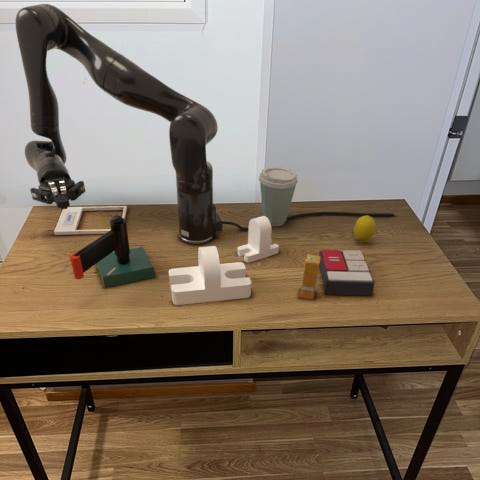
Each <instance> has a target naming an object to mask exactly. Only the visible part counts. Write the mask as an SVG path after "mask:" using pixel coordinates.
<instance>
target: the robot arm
mask: <svg viewBox="0 0 480 480" xmlns="http://www.w3.org/2000/svg"><path fill="white" fill-rule="evenodd" d="M15 33H16V39H17V43H18V48H19V52H20V57H21V62H22V67H23V72H24V75H25V80H26V85H27V92H28V101H29V119H30V120H29V121H30V129H31V131H32V132H33V134H35V135H37V136H39V137H42V138H46V139H48V140H30V141H28V142H27V143H26V145H25V147H24V157H25V160H26V162H27V164H28V165H29V167H30V168H31V169H33V170H34V171H35V172H36V176H37V181H38V184H39V185H38V188H37V187H36V188H35V187H31V188H30V189H29V190H30V194H31V198H32V200H33V201H36V202H40V203H43V204H47V205H53V204H54V203H55V204H56V207H57V208H58V209H60V210H62V211H63V209H68V208H67V207H71V204H70V201H71V202H72V201H76V200H78V199H79V198H80V197H81V196H82V195H83V194H85V192H86V186H85V182H84V181H83V180H79V181H78V182H76V181H74V179H72V178H71V176H70V172H69V169H68V168H67V166H66V163H67V152H66V149H65V145H64V143H63V140H62V137H61V131H60V107H59V100H58V97H57V94H56V92H55V90H54V88H53V86H52V84H51V81H50V78H49V76H48V71H47V57H48V51H52V50H59V51H61V52H64V53H65V54H67V55H69V56H71V57H72V58H73V59H75V60H77V61H78V62H79V64H81V65H82V66H83V67H84V68H85V70H86V72H87V73H88V75H89V76H90V78H91V80H92V81H93V82H94V84H95V85H96V86H97V87H98V88H99V89H100V90H102V91H103V92H104V93H106V94H107V95H109V96H110V97H112V98H113V99H115V100H117V101H118V102H120V103H122V104H123V105H125V106H128V107H131V108H134V109H137V110H141V111H143V112H148V113H151V114H153V115H154V114H155V115H157V116H159V117H162V118H163V119H164V120H166V121H167V122H169V123H170V124H169V129H168V138H169V148H170V158H171V163H172V167H173V169H174V170H175V183H176V184H175V186H176V201H177V203H176V204H177V216H178V218H177V219H178V238H179V240H180V241H181V242H183V243H185V244H188V245H203V244H208V243H209V242H211V241H212V240H214V239H217V233H219V232H223V225H231V226H234V227H237V228H238V229H239V230H243V231H248V229H249V227H244V226H241V225H239V224H238V223H237V222H233V221H224V220H222V218H221V217H220V215H219V213H218V212H217V206H216V204H215V203H214V180H213V179H214V177H213V176H214V170H213V169H214V167H213V165H212V163H211V162H210V161H208V160H207V148H206V147H207V145H209V143H210V142H211V141H212V140H214V139H215V137H216V136H217V133H218V129H219V128H218V122H217V119H216V117H215V115H214V113H212V111H211V110H210V109H208V108H207V107H205V106H204V105H203V104H201V103H199V102H197V101H195V100H193V99H191V98H190V97H188V96H186V95H183V94H182V93H181V92H180V93H179V92H178V91H176V90H175V89H173V88H171V87H170V86H168V85H167V84H165V83H164V82H163V81H161V80H160V79H158V78H156V77H155V76H154V75H153V74H151V73H149V72H148V71H146V70H145V69H143V68H142V67H141V66H139V65H138V64H136V63H135V62H133V61H132V60H130V59H129V58H127V57H126V56H125V55H123V54H121V53H119V52H118V51H117V50H115V49H113V48H112V47H110V46H109V45H108V44H106V43H105V42H103V41H102V40H100V39H99V38H96V36H93V35H92V34H91V33H90V32H88V31H87V30H86V29H84V28H83V27H82V26H81V25H80V24H78V23H77V22H76V21H75V20H74V19H72V18H71V17H70V16H69V15H67V14H66V13H65V12H64V11H63V10H61V9H60V8H59V7H57V6H55V5H53V4H50V3H49V4H48V3H40V4H35V5H28V6H25V7H22V8H20V9H19V10H18V12H17V14H16V16H15ZM316 215H318V216H319V215H347V216H348V215H349V216H366V215H369V216H370V217H372V216H373V217H376V216H377V217H383V216H384V217H393V216H395V213H394V212H355V211H354V212H352V211H314V212H313V211H312V212H304V213H299V214H294V215H289V216H287V219H286V221H288V220H292V219H296V218H301V217H306V216H316Z"/></svg>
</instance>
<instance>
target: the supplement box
mask: <svg viewBox="0 0 480 480" xmlns="http://www.w3.org/2000/svg"><path fill="white" fill-rule="evenodd" d="M320 259H321V257H320V256H319V255H316V254H310V253H308V254H307V255H306V259H305V263H304V270H303V273H302V274H303V275H302V280H301V284H300V285H301V286H300V292H299V298H300V299H306V300H314V298H315V292H316V287H317V280H318V275H319V270H320V266H319V264H320Z"/></svg>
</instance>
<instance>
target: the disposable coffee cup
mask: <svg viewBox="0 0 480 480" xmlns="http://www.w3.org/2000/svg"><path fill="white" fill-rule="evenodd" d="M258 182H260V183H259V184H260V185H259V186H260V197H261V209H262V212H261V213H262V216H266V217H267V218H268V219H269V221H270V224H271V227H281V226H283V225H284V224H285V223H286V222H287V220H286V219H287V217H288V215H289V211H290V209H291V204H292V200H293V198H294V194H295V191H296V186H297V184H298V175H297V174H296V173H295V172H294V171H293V170H291V169H288V168H284V167H280V166H279V167H277V166H270V167H264V168H263V169H261V172H259V177H258Z"/></svg>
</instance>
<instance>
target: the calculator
mask: <svg viewBox="0 0 480 480" xmlns="http://www.w3.org/2000/svg"><path fill="white" fill-rule="evenodd" d="M318 256H320V257H321V259H320V264H319V270H320V274H321V278H322V285H323V290H324V294H325V295H335V296H337V295H338V296H372V295H373V292H374V288H375V283H376V282H375V280H374V277H373V275H372V272H371V270H370V267H369V265H368V262H367V260H366V257H365V255H364V253H363V251H362V250H346V249H344V250H343V249H342V251H341V250H340V249H322V250H319V253H318Z"/></svg>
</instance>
